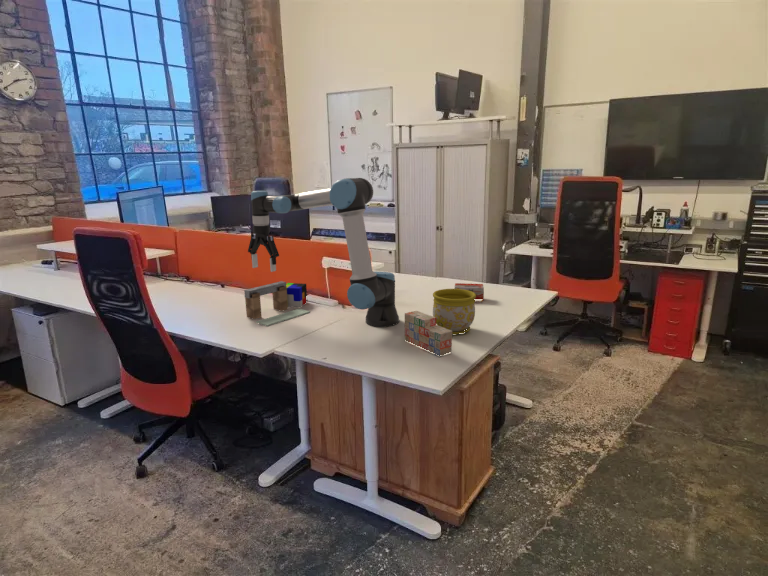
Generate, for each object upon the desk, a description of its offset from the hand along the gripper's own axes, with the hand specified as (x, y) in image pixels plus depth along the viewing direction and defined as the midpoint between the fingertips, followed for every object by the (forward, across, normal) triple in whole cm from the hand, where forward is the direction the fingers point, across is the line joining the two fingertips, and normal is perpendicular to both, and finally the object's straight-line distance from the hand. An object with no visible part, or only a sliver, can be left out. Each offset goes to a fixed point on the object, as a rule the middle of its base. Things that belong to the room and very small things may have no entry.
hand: (264, 269), depth 234 cm
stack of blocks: (+21, -88, -9) cm, 91 cm away
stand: (+22, 0, 0) cm, 22 cm away
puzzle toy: (+22, 0, -18) cm, 28 cm away
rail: (+12, 0, 0) cm, 12 cm away
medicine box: (+21, -66, -79) cm, 105 cm away
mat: (+22, -12, 0) cm, 25 cm away
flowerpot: (+21, -86, -32) cm, 94 cm away
